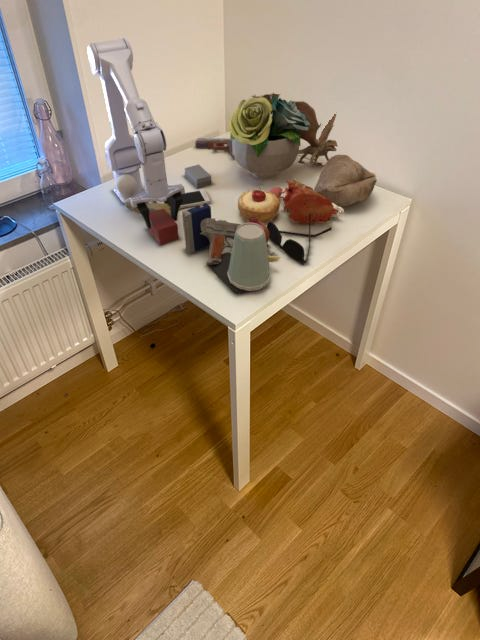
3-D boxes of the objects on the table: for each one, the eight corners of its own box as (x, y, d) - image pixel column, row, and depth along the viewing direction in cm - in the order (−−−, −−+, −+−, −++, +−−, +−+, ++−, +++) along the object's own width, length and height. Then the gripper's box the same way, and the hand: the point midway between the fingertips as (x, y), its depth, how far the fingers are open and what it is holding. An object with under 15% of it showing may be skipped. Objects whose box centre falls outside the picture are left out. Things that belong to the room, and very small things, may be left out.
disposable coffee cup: (218, 225, 110) (219, 273, 121) (242, 252, 104) (241, 301, 115) (258, 211, 114) (255, 260, 125) (284, 237, 108) (278, 285, 119)
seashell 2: (392, 177, 140) (359, 139, 135) (358, 222, 138) (323, 185, 133) (361, 184, 154) (330, 150, 149) (330, 224, 153) (298, 191, 148)
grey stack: (184, 176, 160) (184, 167, 157) (199, 172, 161) (198, 164, 159) (197, 188, 154) (196, 179, 152) (211, 184, 156) (211, 175, 153)
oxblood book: (146, 219, 135) (145, 213, 134) (164, 214, 137) (164, 208, 135) (159, 236, 129) (158, 230, 128) (178, 230, 131) (177, 224, 130)
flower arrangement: (254, 150, 172) (255, 77, 155) (316, 169, 162) (324, 92, 145) (211, 178, 158) (206, 100, 141) (276, 201, 147) (279, 119, 130)
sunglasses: (341, 249, 130) (344, 234, 127) (299, 266, 124) (301, 250, 121) (302, 220, 140) (304, 204, 136) (261, 234, 134) (262, 218, 130)
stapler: (307, 194, 144) (303, 199, 144) (307, 185, 139) (303, 189, 139) (343, 218, 140) (339, 222, 140) (344, 209, 135) (340, 213, 135)
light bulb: (117, 211, 144) (110, 177, 139) (128, 205, 148) (122, 171, 143) (134, 212, 141) (127, 177, 136) (145, 205, 146) (138, 172, 141)
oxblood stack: (147, 229, 137) (146, 220, 135) (166, 223, 139) (164, 214, 137) (160, 245, 131) (158, 236, 129) (179, 239, 133) (178, 230, 131)
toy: (265, 240, 131) (258, 241, 131) (277, 256, 126) (270, 256, 125) (265, 244, 132) (258, 245, 131) (277, 260, 126) (269, 260, 126)
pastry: (232, 221, 139) (231, 193, 133) (245, 201, 147) (245, 174, 141) (272, 229, 136) (273, 201, 130) (284, 208, 144) (285, 180, 138)
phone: (236, 292, 116) (204, 260, 125) (236, 295, 116) (204, 263, 125) (261, 281, 118) (229, 251, 128) (261, 284, 119) (229, 253, 128)
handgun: (192, 158, 168) (196, 145, 177) (248, 158, 168) (249, 145, 177) (191, 149, 166) (196, 136, 175) (248, 150, 165) (249, 136, 174)
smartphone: (155, 200, 148) (155, 197, 148) (204, 191, 152) (204, 189, 151) (160, 212, 143) (160, 209, 143) (210, 203, 147) (210, 200, 146)
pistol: (210, 262, 120) (203, 215, 121) (204, 265, 122) (197, 218, 123) (260, 265, 134) (254, 223, 135) (254, 267, 135) (248, 226, 136)
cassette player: (208, 240, 133) (206, 201, 124) (213, 244, 131) (211, 205, 123) (185, 250, 130) (180, 210, 121) (189, 254, 128) (185, 214, 120)
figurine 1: (179, 208, 142) (131, 192, 142) (175, 205, 136) (125, 189, 137) (174, 225, 142) (126, 209, 143) (170, 223, 137) (120, 207, 137)
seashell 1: (276, 202, 126) (335, 194, 122) (275, 165, 128) (333, 156, 125) (288, 230, 142) (340, 223, 138) (286, 196, 144) (338, 189, 141)
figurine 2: (295, 217, 143) (306, 198, 145) (293, 210, 140) (304, 191, 142) (260, 205, 148) (271, 188, 150) (257, 199, 145) (269, 180, 147)
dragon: (314, 164, 148) (321, 97, 143) (265, 162, 168) (269, 103, 162) (353, 167, 157) (360, 104, 152) (302, 165, 177) (307, 109, 171)
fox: (227, 254, 120) (229, 247, 120) (240, 267, 128) (241, 260, 128) (273, 256, 115) (275, 249, 115) (284, 269, 123) (285, 262, 123)
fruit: (245, 261, 126) (245, 228, 119) (233, 245, 131) (232, 212, 124) (273, 254, 128) (275, 221, 121) (260, 238, 133) (261, 205, 126)
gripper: (133, 190, 118) (142, 237, 128) (187, 176, 123) (191, 222, 133) (123, 178, 123) (132, 224, 132) (176, 165, 128) (181, 210, 137)
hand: (161, 222), depth 133 cm, fingers open, 7 cm apart
